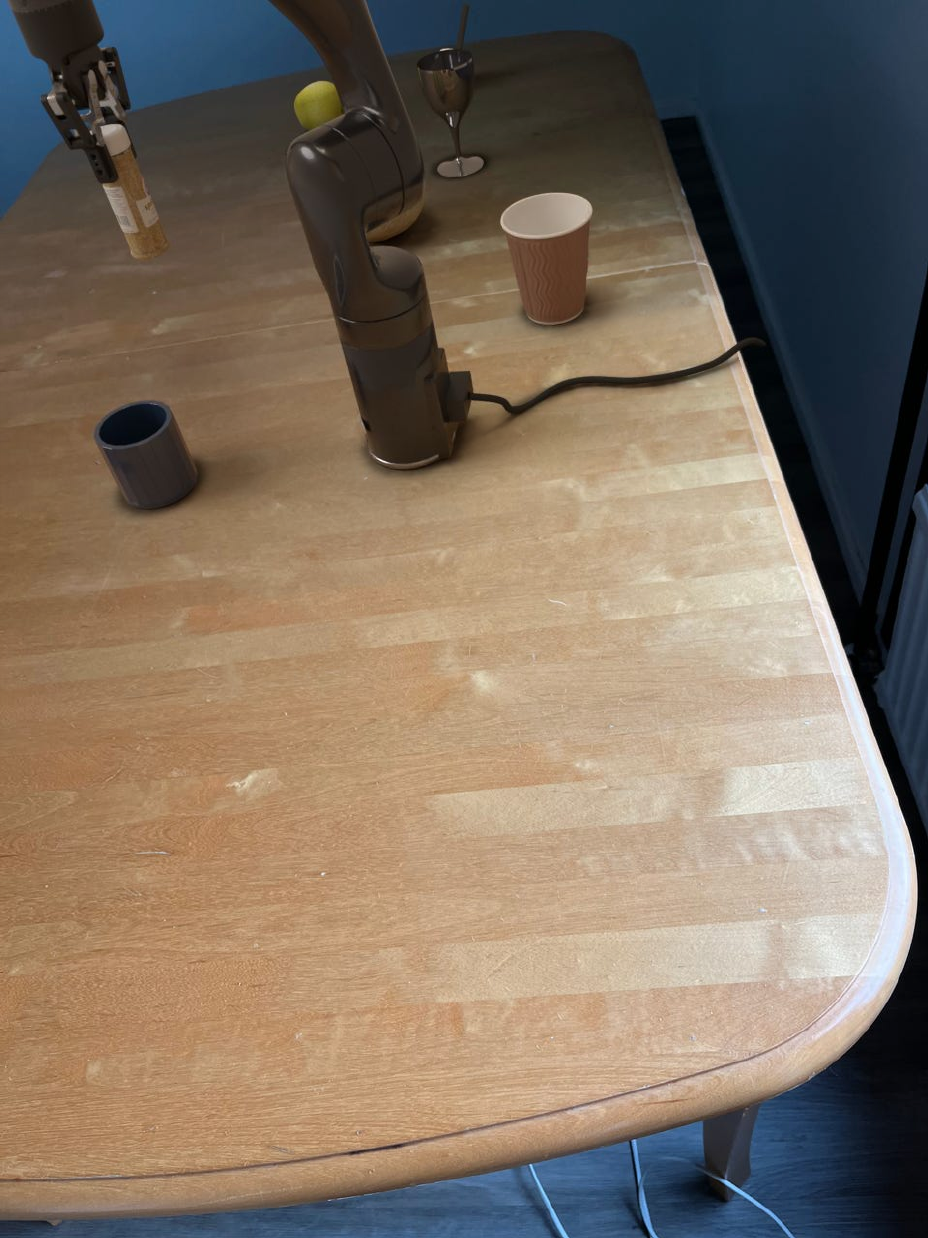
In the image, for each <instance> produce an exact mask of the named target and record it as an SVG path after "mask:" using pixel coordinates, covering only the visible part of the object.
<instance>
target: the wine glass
mask: <svg viewBox="0 0 928 1238" xmlns="http://www.w3.org/2000/svg"><path fill="white" fill-rule="evenodd" d="M441 50H442V49H441ZM416 71H417V76H418V80H419V85H420V88H421V92H422V95H423V97H424V99H425V102H426V104H427V106H428V107H429V109H431V111H432V112H433V113H435V115H437V116H438V117H439V118H440V119H441V120H443V122H444V123H445V124H446V125H447V127H448V128H449V130H450V133H451V137H452V141H453V144H454V150H455V157H451V158H448V159H446V160H444V161H442V162H441V163H440V164H439V165H438V166H437V169H436V171H437V173H438V174H439V175H440V176H442V177H446V178H461V177H466V176H470V175H472V174H474V173H477V172H478V171H479V170H481V169H482V168H483V166H485V165H484V164H485V161H484V160H483V159H482V158H481V157H479V156H477V155H470V154H469V155H462V151H461V141H460V128H461V127H460V126H461V123H462V120H463V117H464V116H465V114H466V112H467V111H468V109H469V107H470V106H471V104H472V101H473V100H474V94H475V66H474V58H473V54H472V52H471V51H470V50H468V49H463V48H462V49H456V48H449V50H442V51H440V50H438V51H434V52H431V53H429V54H426V55H425V56H422V57H421V58H420V59H419V60H418V61H417V62H416Z"/></svg>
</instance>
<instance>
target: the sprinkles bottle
mask: <svg viewBox="0 0 928 1238" xmlns="http://www.w3.org/2000/svg"><path fill="white" fill-rule="evenodd" d="M100 126H101V125H100ZM101 130H102V134H103V138H104V144H106V146H107V148H108V151H109V153H110V156H111V158H112V161H113V163H114V166H115V168H116V171H117V173H118V176H119V178H118V179H117V181H116V182H114V183H106V184H102V187H103V190H104V192H105V194H106V196H107V199H108V201H109V203H110V206H111V208H112V210H113V213H114V216H115V217H116V220H117V223H118V225H119V227H120V230H121V231H122V232H123V235H124V237H125V239H126V242H127V244H128V247H129V249H130V255H131V256H132V257H133V258H134V259H135V260H141V261H145V260H146V261H147V260H151V259H154V258H157V257H160V256H161V255H163V254H164V253H166V252H167V251H168V250H169V248H170V244H171V243H170V240H169V239H168V238H167V236H166V234H165V231H164V229H163V226H162V224H161V221H160V218H159V214H158V211H157V210H156V207H155V204H154V202H153V200H152V197H151V195H150V192H149V189H148V187H147V184H146V182H145V179H144V177H143V175H142V173H141V171H140V168H139V165H138V163H137V160H136V159H135V158H134V155H133V152H132V150H131V146H130V144H131V143H130V140H129V137H128V135H127V132H126V130H125V128H124V127H123V126H122V125H119V124H110V125H107V124H106V125H102V126H101ZM89 131H90V133H91V135H92V131H91V130H89Z"/></svg>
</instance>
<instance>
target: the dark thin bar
mask: <svg viewBox="0 0 928 1238" xmlns="http://www.w3.org/2000/svg"><path fill="white" fill-rule="evenodd" d="M469 10H470V4H469V3H468V2H467V1H465V2H463V4H462V8H461V16H460V21H459V27H458V33H457V39H456V44H455V49H463V45H464V39H465V35H466V34H465V33H466V27H467V21H468V17H469ZM449 49H450V48H447V47H446V48H441V49H440V50H439V51H442V50H449Z"/></svg>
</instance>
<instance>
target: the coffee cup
mask: <svg viewBox="0 0 928 1238" xmlns="http://www.w3.org/2000/svg"><path fill="white" fill-rule="evenodd" d="M592 215H593V206H592V204H591V203H590V201H589V200H588V199H586V198H585V197H582V196H580V195H578V194H573V193H569V192H547V193H540V194H535V195H531V196H529V197H525V198H522V199H520V200H517V201H516V202H514V203H513V204H511V205H509V206H508V207H507V208H506V209H504V211H503V212H502V214H501V217H500V221H499V223H500V225H501V228H502V230H504V234H505V238H506V242H507V246H508V250H509V255H510V258H511V262H512V266H513V270H514V274H515V278H516V279H515V280H516V283H517V286H518V291H519V294H520V298H521V299H520V300H521V302H522V306H523V309H524V311H525V314H526V316H527V318H529V320H531V321H532V322H534V323H536V324H540V325H544V326H554V325H555V326H556V325H562V324H565V323H569V322H571V321H574V320H575V319H576V318H578V317H579V315H581V313H583V311H584V309H585V308H584V306H585V301H586V295H587V277H588V276H587V275H588V271H589V242H590V239H589V238H590V224H591V217H592Z"/></svg>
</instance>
